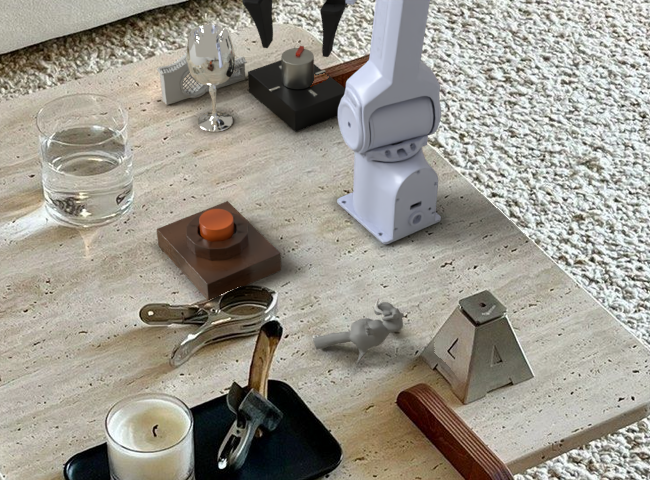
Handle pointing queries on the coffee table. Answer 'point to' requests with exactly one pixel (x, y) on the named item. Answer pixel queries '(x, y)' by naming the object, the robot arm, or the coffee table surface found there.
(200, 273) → the button block
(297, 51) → the dial
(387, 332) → the grey bird figurine
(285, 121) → the dial panel
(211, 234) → the button
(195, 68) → the wineglass
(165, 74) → the lattice window wall
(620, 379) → the coffee table surface
